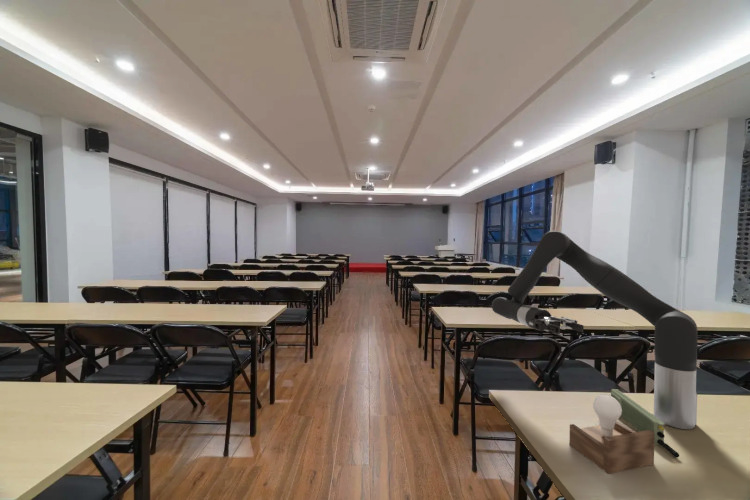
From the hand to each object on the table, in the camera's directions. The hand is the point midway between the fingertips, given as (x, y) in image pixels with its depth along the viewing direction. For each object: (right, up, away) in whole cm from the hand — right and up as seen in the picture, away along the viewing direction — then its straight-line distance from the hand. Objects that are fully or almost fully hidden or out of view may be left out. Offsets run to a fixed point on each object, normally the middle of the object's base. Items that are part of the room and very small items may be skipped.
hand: (571, 329), depth 98 cm
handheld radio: (+18, -29, -5) cm, 34 cm away
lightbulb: (0, -25, -15) cm, 29 cm away
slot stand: (+1, -28, -15) cm, 32 cm away
